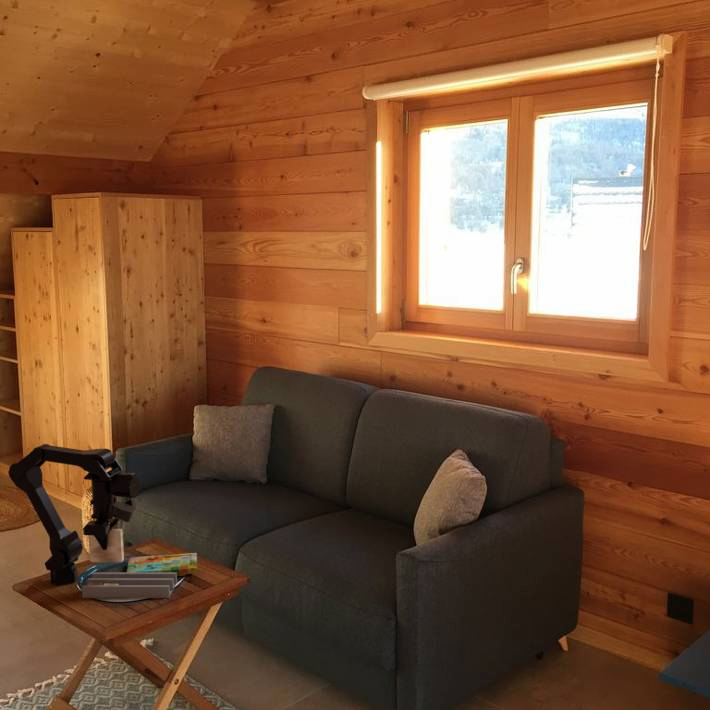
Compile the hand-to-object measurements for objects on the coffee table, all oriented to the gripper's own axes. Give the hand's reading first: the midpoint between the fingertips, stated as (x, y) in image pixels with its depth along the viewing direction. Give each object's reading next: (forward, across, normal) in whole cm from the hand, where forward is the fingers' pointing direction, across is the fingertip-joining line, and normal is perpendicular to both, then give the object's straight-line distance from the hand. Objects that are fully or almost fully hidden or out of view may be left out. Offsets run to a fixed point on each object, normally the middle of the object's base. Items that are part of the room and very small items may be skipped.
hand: (106, 548), depth 247 cm
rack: (+13, -2, -7) cm, 15 cm away
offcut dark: (+11, -4, +2) cm, 12 cm away
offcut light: (+11, -4, -2) cm, 12 cm away
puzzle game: (+13, +12, -13) cm, 22 cm away
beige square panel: (+4, 0, 0) cm, 4 cm away
